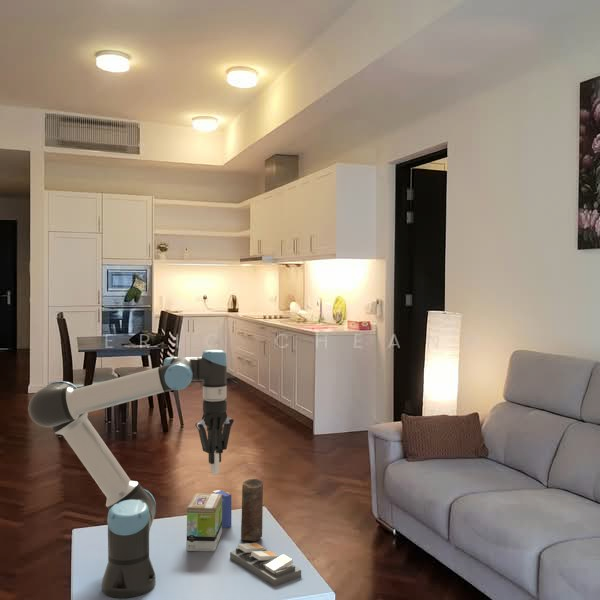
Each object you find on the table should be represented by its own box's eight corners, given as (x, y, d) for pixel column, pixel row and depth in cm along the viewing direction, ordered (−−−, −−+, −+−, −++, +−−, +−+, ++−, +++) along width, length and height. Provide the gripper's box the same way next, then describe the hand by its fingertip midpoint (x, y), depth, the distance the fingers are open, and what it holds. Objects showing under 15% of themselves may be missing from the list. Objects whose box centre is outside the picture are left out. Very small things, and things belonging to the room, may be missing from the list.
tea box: (216, 552, 208) (215, 507, 208) (185, 551, 208) (185, 507, 208) (222, 533, 223) (222, 492, 223) (194, 533, 223) (194, 492, 223)
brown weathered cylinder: (265, 536, 221) (265, 479, 220) (258, 544, 214) (258, 486, 213) (245, 533, 223) (245, 477, 222) (237, 542, 216) (237, 484, 215)
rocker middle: (259, 560, 193) (260, 556, 193) (250, 555, 197) (251, 551, 197) (277, 559, 197) (278, 555, 197) (268, 554, 201) (269, 550, 201)
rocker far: (245, 552, 199) (246, 548, 199) (237, 547, 202) (238, 543, 203) (263, 551, 203) (264, 547, 203) (255, 546, 207) (255, 542, 207)
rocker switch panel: (274, 586, 185) (274, 575, 185) (230, 558, 203) (230, 548, 203) (301, 576, 191) (301, 565, 191) (255, 549, 210) (255, 540, 210)
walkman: (231, 526, 230) (231, 493, 230) (225, 528, 228) (225, 495, 228) (218, 520, 236) (218, 488, 235) (212, 522, 234) (212, 490, 233)
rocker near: (274, 574, 187) (274, 570, 187) (265, 568, 191) (264, 564, 191) (292, 562, 192) (292, 559, 191) (283, 557, 195) (283, 553, 195)
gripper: (202, 403, 192) (202, 480, 193) (238, 398, 201) (238, 472, 201) (190, 399, 198) (190, 474, 199) (225, 395, 206) (226, 466, 207)
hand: (214, 473), depth 200 cm, fingers closed
